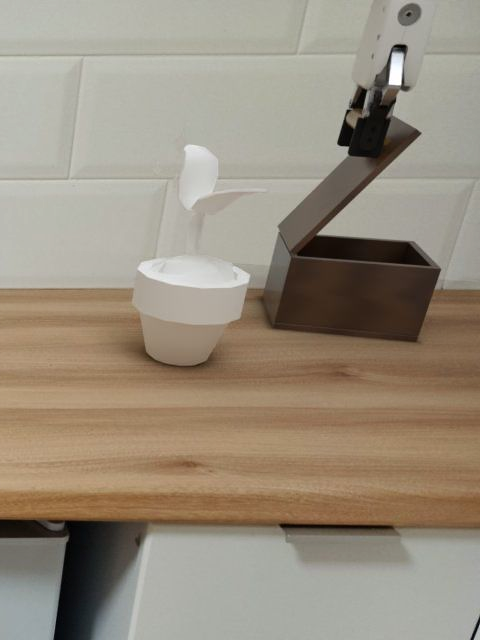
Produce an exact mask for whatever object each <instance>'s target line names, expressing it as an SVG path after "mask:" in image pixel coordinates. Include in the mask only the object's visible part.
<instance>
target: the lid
mask: <svg viewBox="0 0 480 640" xmlns="http://www.w3.org/2000/svg"><path fill="white" fill-rule="evenodd" d="M362 113H363V110H362V109H360V108H356V109H351V111H350V112H349V113H348V114H347V116H346V122H347V124H348V125H349V126H350V127H352V128H353V129H355V126H356V122H357V119H358V117H362ZM390 120H391V122H390V125H389V128H388V131H387V134H386V138H385V141H384V144H383V147H382V150H381V153H380V156H379V157H377V158H368V157H355V156H350V155H348V154H347V156H346V157H345V158H344V159H343V160H342V161H341V162H340V163H339V164H337V166H336V167H335V168H334V169H333V170H331V172H330V173H329V174H328V175H327V176H326V177H325V178H324V179H323V180H322V181H320V183H319V184H317V186H316V187H315V188H313V189H312V191H311V192H310V193H309V194H307V195H306V197H304V199H303V200H302V201H300V203H299V204H298V205H297V206H296V207H295V208H294V209H293V210H291V212H289V213H288V215H286V217H285V218H283V219H282V220H281V222H279V224H278V225H277V228H278V230H279V231H278V232H280V233H281V235H282V237H283V239H284V241H285V243H286V245H287V247H288V249H289V251H290V252H291V253H292V254H294V255H296V254H297V253H298V252H299V251H300V250H301V249H302V248H303V247H304V246H305V245H306V244H307V243H308V242H309V241H310V240H311V239H312V238H313V237H314V236H315V235H317V234H319V233H320V232H321V231H322V230H323V229H324V228H325V227H326V226H327V225H329V223H331V221H332V220H334V219H335V218H336V217H337V216H338V215H339V214H340V213H341V212H342V211H343V210H344V209H345V208H346V207H347V206H348V205H349V204H350V203H351V202H352V201H354V200H355V198H357V197H358V195H359V194H361V193H362V192H363V190H365V189H366V188H367V187H368V186H369V185H370V184H371V183H372V182H373V181H374V180H375V179H376V178H377V177H378V176H379V175H380V174H381V173H382V172H383V171H385V170H386V169H387V168H388V167H389V166H390V165H391V164H392V163H393V162H394V161H395V160H396V159H397V158H399V157H400V155H402V154H403V153H404V152H405V151H406V149H407V148H408V147H410V146H411V145H413V143H414V142H415V141H416V140H417V139H418V138H419V137H420V136H421V135H422V132H421V131H420V130H419V129H417V128H416V127H414V126H412V125H411V124H409V123H407V122H405V121H404V120H402V119H400V118H398V117H396V116H395V115H392V118H391V119H390Z"/></svg>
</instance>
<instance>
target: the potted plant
mask: <svg viewBox="0 0 480 640" xmlns="http://www.w3.org/2000/svg"><path fill="white" fill-rule="evenodd" d="M170 143H172V144H174V145H175V147H176V152H177V163H179V161H180V159H181V155H182V153H183V163H182V168H181V171H180V173H179V176H178V172H175V175H174V176H173V178H172V179H169V181H170V182H171V183H172V184H173V191H175V190H176V189H177V190H176V191H177V192H176V193H177V194H176V197H177V199H178V201H179V202H180V204H181V206H182V207H183V209H184V210H185V211H186V210H187V211H191V212H192V213H191V215H190V217H189V220H188V221H187V228H186V237H185V254H182V255H176V256H175V255H174V256H172V257H157V258H153V259H149V260H144V261H141V262H140V264H139V265H138V267H137V268H136V275H135V276H136V277H135V279H134V285H133V286H134V287H133V292H132V298H131V305H132V306H133V307H134V308H135V309H136V310H138V311H139V318H140V323H141V329H142V335H143V341H144V348H145V352H146V353H147V354H148V356H150V357H151V358H152V359H153V360H155V361H157V362H160V363H162V364H164V365H168V366H169V365H170V366H175V367H176V366H177V367H193V366H196V365H199V364H202V363H204V362H207V360H208V359H209V357H210V355H211V354H212V352H213V351H214V349H215V347H216V345H217V344H218V343H219V341H220V339H221V337H222V336H223V334H224V333H225V331H226V329H227V328H228V326H229V325H230V323H231V322H234V321H237V320H240V319H241V316H242V312H243V307H244V304H245V299H246V295H247V291H248V287H249V282H250V278H251V274H249V273H248V272H246V271H244V270H243V269H241V268H240V267H238V266H235V265H234V264H233V263H231V262H229V261H226V260H223V259H220V258H218V257H215V256H212V255H210V254H207V253H204V254H203V253H202V254H201V253H200V247H201V240H202V235H203V234H202V233H203V229H204V228H203V227H204V222H205V217H206V215H207V216H214V215H216V214H217V213H219V212H221V211H223V210H224V209H226V208H228V207H229V206H230V205H232V204H234V203H235V202H237V201H238V200H239V199H241V198H243V197H245V196H251V195H254V194H258V193H259V194H268V191H269V190H268V189H263V188H230V189H225V190H219V191H214V189H215V186H216V183H217V182H218V179H219V175H220V174H219V173H220V172H219V170H220V169H219V159H218V158H217V157H216V156H215V155H214V154H213V153H212V152H211V151H210V150H208V148H206V147H205V146H202V145H201V146H200V145H195V144H192V143H190V142H188V140H187V138H186V136H185V123H183V125H182V128H181V130H180V132H179V135H178V136H177V138H175V139H174V140H170ZM151 170H152V171H153V172H154V174H155V179H157V178H158V175H159V173H160V172H161V171H162V172H163V168H161V167H160V163H159V160H157V163H156V165H155V166H154V167H152V168H151ZM176 187H177V188H176Z"/></svg>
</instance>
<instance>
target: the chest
mask: <svg viewBox="0 0 480 640" xmlns="http://www.w3.org/2000/svg"><path fill="white" fill-rule="evenodd" d="M441 271H442V268H441V267H440V265H438V264H437V263H436V261H434V260H433V258H432V257H430V256H429V255H428V254H427V253H426V251H424V249H423V248H421V247H420V245H419V244H417V243H416V241H414V240H406V239H405V240H403V239H390V238H389V239H388V238H377V237H376V238H374V237H362V236H361V237H360V236H347V235H331V234H319V233H318V234H317V235H315V236H314V237H313V238H312V239H311V240H310V241H309V242H308V243H307V244H306V245H305V246H304V247H303V248H302V249H301V250H300V251H299V252H298V253H297V254H296V255H294V254H292V253H291V252H290V251H289V249H288V247H287V245H286V243H285V241H284V239H283V237H282V235H281V233H280V231H278V233H277V236H276V241H275V245H274V249H273V253H272V257H271V261H270V265H269V269H268V273H267V277H266V281H265V285H264V289H263V294H262V301H263V304H264V307H265V310H266V312H267V315H268V318H269V321H270V324H271V327H272V329H273V330H283V331H294V332H306V333H315V334H326V335H335V336H344V337H345V336H346V337H356V338H365V339H366V338H367V339H376V340H386V341H387V340H388V341H396V342H397V341H399V342H407V343H417V341H418V339H419V336H420V333H421V331H422V327H423V324H424V321H425V319H426V315H427V312H428V310H429V307H430V304H431V301H432V299H433V295H434V292H435V289H436V286H437V283H438V280H439V278H440V276H441V275H440V274H441Z"/></svg>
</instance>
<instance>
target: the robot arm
mask: <svg viewBox="0 0 480 640" xmlns="http://www.w3.org/2000/svg"><path fill="white" fill-rule="evenodd" d="M438 4H439V0H372V3H371V5H370V9H369V12H368V15H367V18H366V21H365V24H364V29H363V31H362V35H361V38H360V41H359V45H358V48H357V52H356V55H355V59H354V63H353V67H352V72H351V80H352V82H353V83H354V84H355V85H354V88H353V91H352V94H351V96H350V99H349V101H348V106H347V108H346V110H345V114H344V117H343V121H342V124H341V127H340V131H339V134H338V138H337V141H336V144H337V145H338V146H339V147H343V148H344V147H345V148H348V149H347V156H348V155H350V156H355V157H368V158H377V157H379V156H380V153H381V150H382V147H383V144H384V141H385V138H386V134H387V131H388V128H389V125H390V122H391V120H390V119H391V118H392V115H393V114H394V112H395V111H394V110H395V107H396V103H397V99H398V98H397V97H398V94H399V92H400V91H401V92H404V93H409V92H411V91H412V90H413V89H415V87H416V85H417V83H418V79H419V76H420V71H421V69H422V65H423V61H424V58H425V55H426V51H427V46H428V43H429V40H430V36H431V32H432V29H433V25H434V21H435V17H436V13H437V9H438ZM356 108H360V109H362V110H363V113H362V117H358V119H357V122H356V126H355V129H353V128H352V127H350V126H349V125H348V124H347V122H346V116H347V114H348V113H349V112H350V111H351V110H353V109H356ZM393 116H394V115H393Z"/></svg>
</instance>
